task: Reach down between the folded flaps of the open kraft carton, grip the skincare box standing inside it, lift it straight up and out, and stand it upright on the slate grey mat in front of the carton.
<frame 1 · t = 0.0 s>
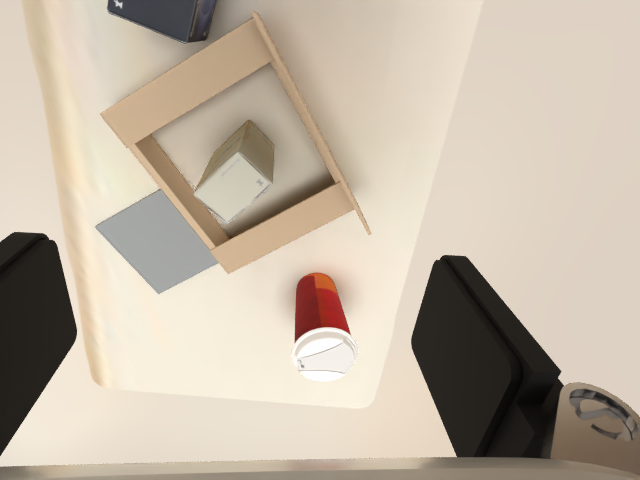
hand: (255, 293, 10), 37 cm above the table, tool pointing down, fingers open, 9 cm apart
skincare box: (243, 150, 45), resting in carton
paper cup: (316, 287, 56), on the table
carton: (243, 151, 45), on the table
mat: (160, 243, 50), on the table
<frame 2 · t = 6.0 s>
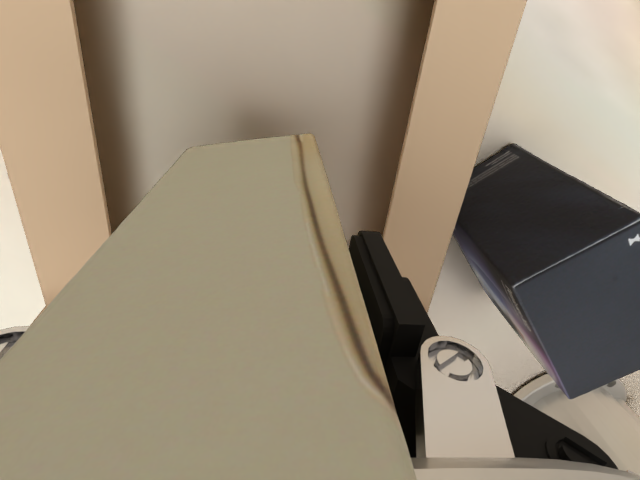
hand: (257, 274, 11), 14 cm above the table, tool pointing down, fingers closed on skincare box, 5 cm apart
skincare box: (261, 218, 14), point 10 cm above the table, touching gripper
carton: (259, 134, 23), on the table
small box: (494, 223, 28), on the table
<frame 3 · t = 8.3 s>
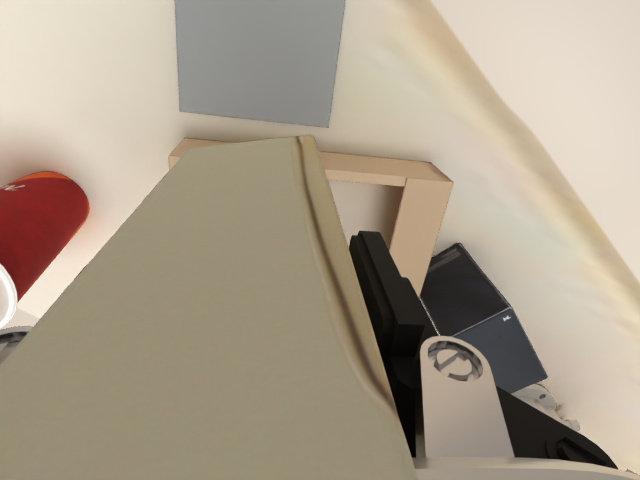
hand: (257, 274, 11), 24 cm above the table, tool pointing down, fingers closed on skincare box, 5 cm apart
skincare box: (261, 219, 14), point 20 cm above the table, touching gripper
paper cup: (56, 201, 34), on the table
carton: (302, 239, 38), on the table
mat: (259, 51, 29), on the table
small box: (450, 288, 42), on the table
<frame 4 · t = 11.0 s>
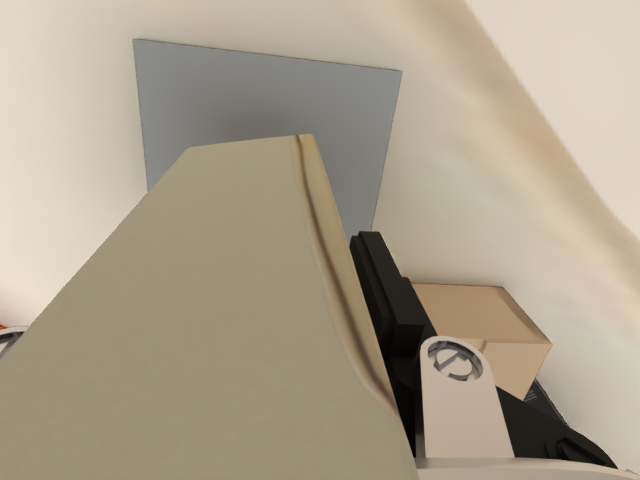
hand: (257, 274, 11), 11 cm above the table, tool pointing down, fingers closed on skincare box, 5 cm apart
skincare box: (261, 218, 14), point 7 cm above the table, touching gripper
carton: (326, 379, 28), on the table
mat: (268, 161, 20), on the table
small box: (514, 420, 33), on the table
when the fingers open (4 cm above the table, at t = 13.1 s): skincare box stays where it is, resting on mat.
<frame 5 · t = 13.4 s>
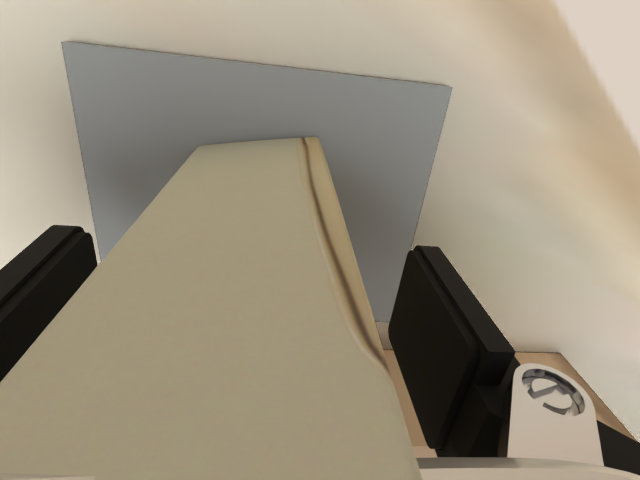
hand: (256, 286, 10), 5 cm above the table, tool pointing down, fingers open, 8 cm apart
skincare box: (265, 215, 15), resting on mat
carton: (336, 459, 23), on the table
mat: (263, 207, 15), on the table
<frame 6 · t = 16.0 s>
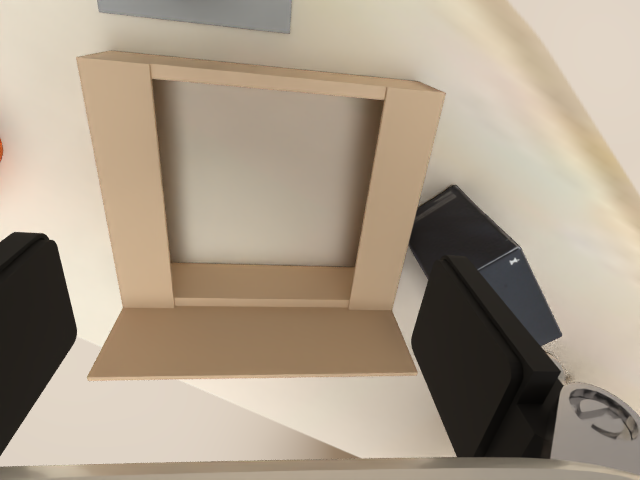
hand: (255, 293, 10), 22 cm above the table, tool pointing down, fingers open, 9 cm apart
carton: (268, 183, 32), on the table
small box: (446, 241, 37), on the table
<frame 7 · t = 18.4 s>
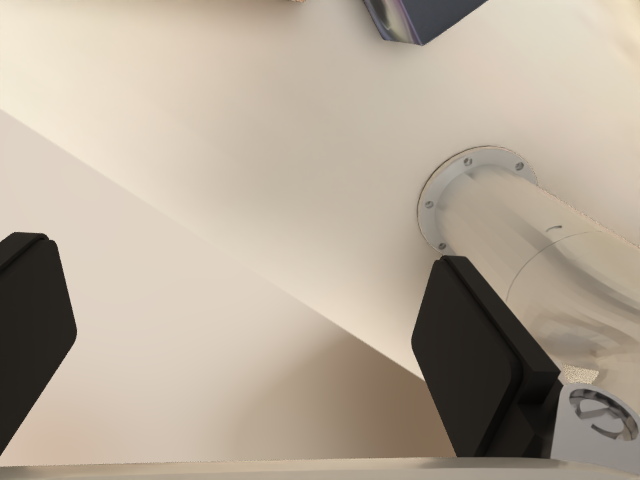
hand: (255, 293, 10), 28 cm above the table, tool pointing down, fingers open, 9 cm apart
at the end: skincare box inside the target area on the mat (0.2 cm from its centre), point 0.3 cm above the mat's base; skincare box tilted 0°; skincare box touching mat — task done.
